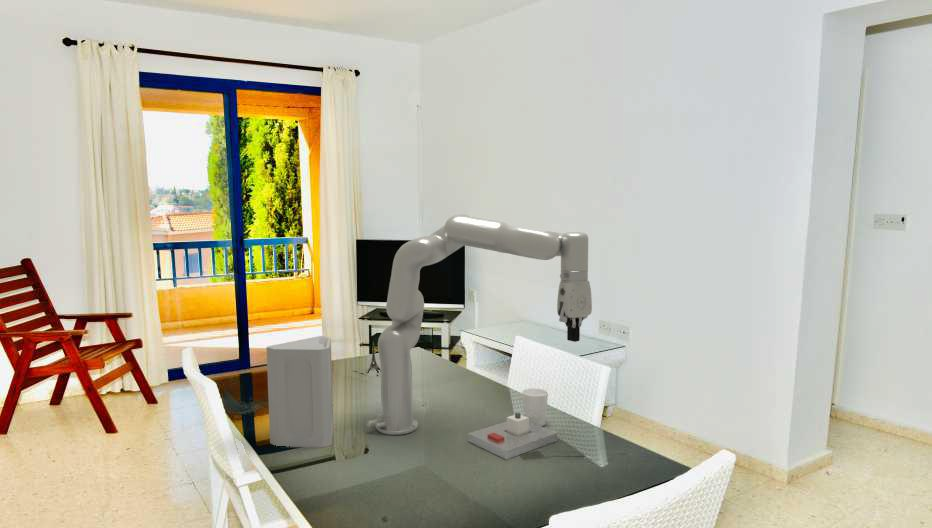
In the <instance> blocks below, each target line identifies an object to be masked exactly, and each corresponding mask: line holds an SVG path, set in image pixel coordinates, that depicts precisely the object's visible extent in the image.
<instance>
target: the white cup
mask: <svg viewBox="0 0 932 528" xmlns="http://www.w3.org/2000/svg"><path fill="white" fill-rule="evenodd" d="M521 393H522V394H521V395H522V397H521V398H522V413H523V416H525V417H528V418H529V422H531V423H534V424H536V425H539V426H541V427H544V426H545V425H546V423H547V413H548V399H549V398H548V397H549V396H548V395H549V391H547V390H546V389H543V388H537V387H536V388H535V387H533V388H531V387H530V388H526V389H523V390H522V392H521Z"/></svg>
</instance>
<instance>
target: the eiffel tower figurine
mask: <svg viewBox="0 0 932 528" xmlns="http://www.w3.org/2000/svg"><path fill="white" fill-rule="evenodd" d="M371 354H372V356H371V362H370V365H369V368H368V370H367V371H368V372H366V373H369V371H370V370H376V371H377V373H379V371H378V370H380V366H379V365H378V363H377V360H376V356H375V355H376V354H375V343H374V342H372V353H371ZM379 374H380V373H379Z"/></svg>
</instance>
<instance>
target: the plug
mask: <svg viewBox="0 0 932 528" xmlns="http://www.w3.org/2000/svg"><path fill="white" fill-rule="evenodd" d="M506 421H507V433H509V434H512V435H514V436H516V437H519V436H522V435H525V434H528V433H529V418H528V417H525V416H524V414H523V415H522V414H521V412H515V414H513V415H509V416H507V417H506Z"/></svg>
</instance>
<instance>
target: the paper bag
mask: <svg viewBox="0 0 932 528" xmlns="http://www.w3.org/2000/svg"><path fill="white" fill-rule="evenodd" d="M265 348H266V369H267V372H266V373H267V392H268V393H267V394H268V395H267V396H268V423H269V425H268V426H269V443H270V445H273V446H275V445H276V446H275V447H277V446H286V447H285V448H325V447H328V446H332V445H333V434H334V410H333V409H334V405H333V403H334V402H333V372H332V371H333V369H332V363H333V362H332V338H331V337H329V336H326V335H318V336H313V337H308V338H303V339H298V340H294V341H287V342H284V343H278V344H273V345H268V346H266V347H265ZM289 446H290V447H289Z"/></svg>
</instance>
